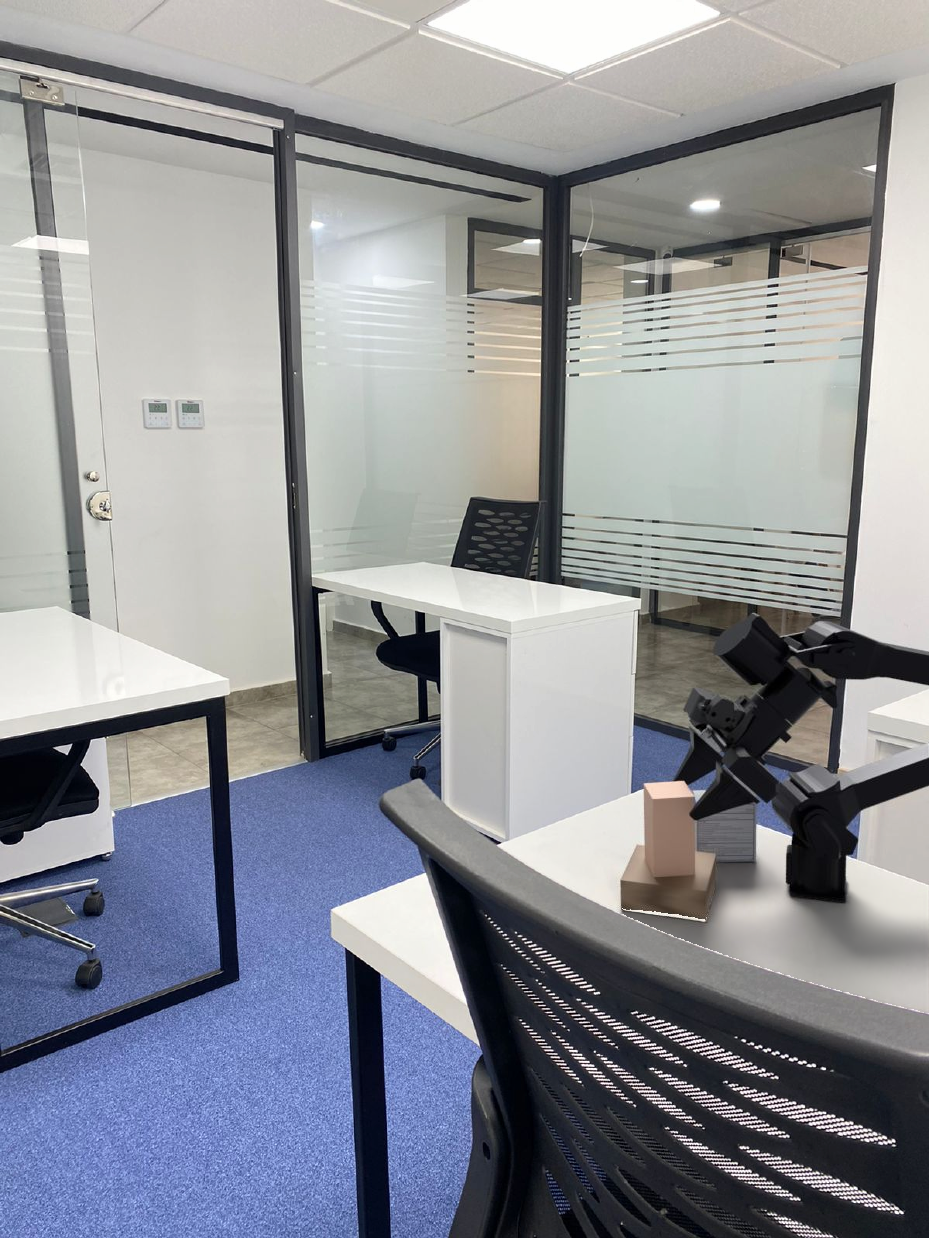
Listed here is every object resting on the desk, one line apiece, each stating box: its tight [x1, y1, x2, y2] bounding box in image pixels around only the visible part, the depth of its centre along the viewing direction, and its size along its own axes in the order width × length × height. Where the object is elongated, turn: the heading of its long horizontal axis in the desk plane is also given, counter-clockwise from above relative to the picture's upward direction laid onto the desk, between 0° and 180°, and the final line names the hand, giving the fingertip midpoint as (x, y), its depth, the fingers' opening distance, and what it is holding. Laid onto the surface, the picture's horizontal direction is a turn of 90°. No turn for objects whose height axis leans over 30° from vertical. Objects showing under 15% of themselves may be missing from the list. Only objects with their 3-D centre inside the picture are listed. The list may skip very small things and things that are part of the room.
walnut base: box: [620, 844, 717, 921], centre depth 114 cm, size 10×10×4 cm
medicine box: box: [691, 789, 758, 863], centre depth 123 cm, size 8×4×9 cm, turn 84°
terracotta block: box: [643, 781, 695, 877], centre depth 113 cm, size 5×5×10 cm
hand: (682, 802), depth 112 cm, fingers open, 9 cm apart
